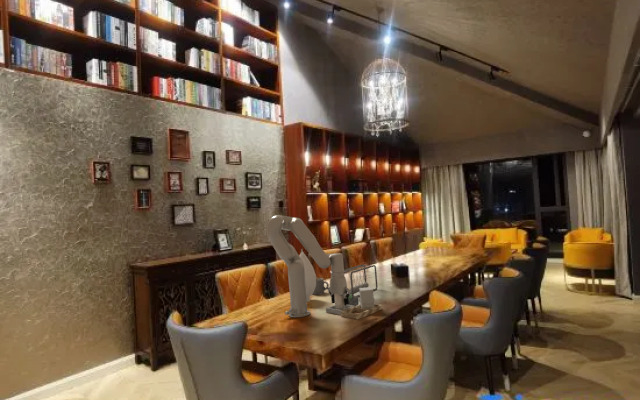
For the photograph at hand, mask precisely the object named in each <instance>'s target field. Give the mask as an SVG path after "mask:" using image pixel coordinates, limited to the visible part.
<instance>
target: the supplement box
mask: <svg viewBox="0 0 640 400" xmlns="http://www.w3.org/2000/svg"><path fill="white" fill-rule="evenodd" d="M373 289H374V288H373V287H371V286H368V287H367V288H359V291H358V292H359V293H358V294H359V295H360V297H359V303H360V304H359V305H360V306H361V308H365V309H371V308H374V307H375V306H374V304H375V295H374V294H375V293H374V291H373Z"/></svg>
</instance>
